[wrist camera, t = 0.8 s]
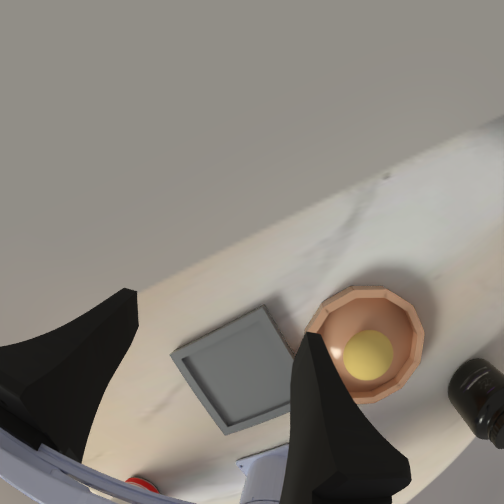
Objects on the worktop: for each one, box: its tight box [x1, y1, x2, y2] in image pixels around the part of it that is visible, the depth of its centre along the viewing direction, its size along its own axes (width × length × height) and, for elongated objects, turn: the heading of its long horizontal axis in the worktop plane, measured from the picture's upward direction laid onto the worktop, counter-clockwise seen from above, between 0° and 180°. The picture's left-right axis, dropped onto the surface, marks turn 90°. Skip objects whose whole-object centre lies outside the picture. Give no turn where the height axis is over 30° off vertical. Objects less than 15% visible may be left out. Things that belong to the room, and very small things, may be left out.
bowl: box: [305, 286, 425, 404], centre depth 30 cm, size 13×13×2 cm
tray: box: [170, 305, 295, 435], centre depth 32 cm, size 12×12×1 cm
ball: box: [343, 330, 393, 380], centre depth 27 cm, size 5×5×5 cm
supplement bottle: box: [448, 359, 504, 449], centre depth 23 cm, size 7×7×12 cm
